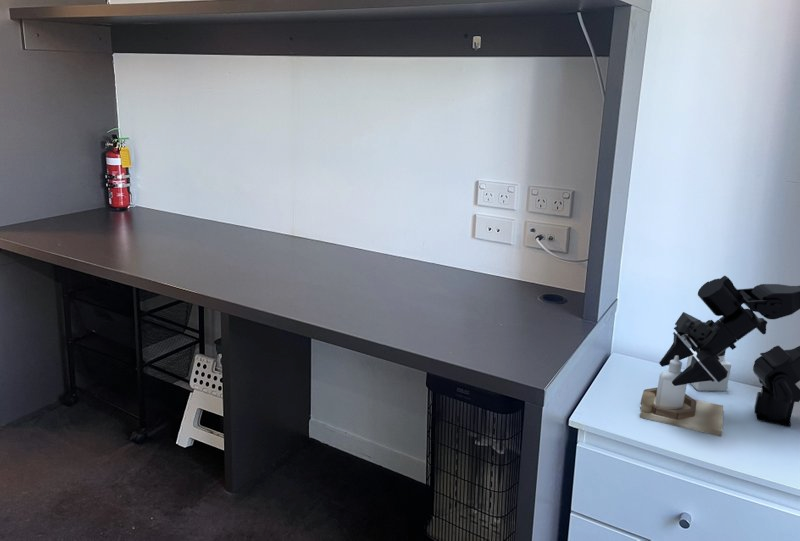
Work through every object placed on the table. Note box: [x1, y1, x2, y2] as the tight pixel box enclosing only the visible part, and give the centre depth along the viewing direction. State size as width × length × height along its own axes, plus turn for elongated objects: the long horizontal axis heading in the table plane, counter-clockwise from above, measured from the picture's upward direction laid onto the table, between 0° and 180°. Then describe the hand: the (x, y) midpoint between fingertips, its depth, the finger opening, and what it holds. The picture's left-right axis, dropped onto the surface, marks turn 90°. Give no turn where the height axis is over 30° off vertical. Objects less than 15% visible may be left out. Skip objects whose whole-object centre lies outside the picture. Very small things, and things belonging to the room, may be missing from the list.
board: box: [639, 387, 724, 437], centre depth 145 cm, size 16×12×5 cm
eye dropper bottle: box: [655, 355, 688, 409], centre depth 144 cm, size 4×6×12 cm
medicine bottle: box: [685, 349, 732, 392], centre depth 157 cm, size 7×7×12 cm
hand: (666, 374), depth 144 cm, fingers open, 9 cm apart
